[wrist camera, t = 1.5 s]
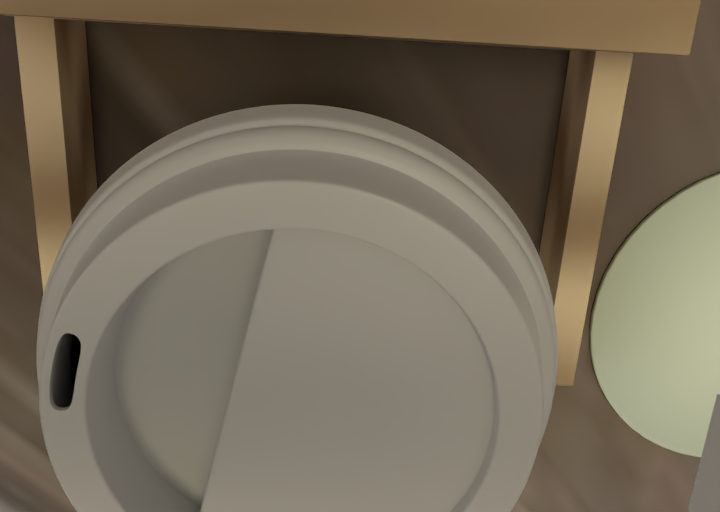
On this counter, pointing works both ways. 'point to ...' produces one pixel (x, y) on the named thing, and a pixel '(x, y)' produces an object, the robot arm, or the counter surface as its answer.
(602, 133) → the shelf bay
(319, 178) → the coffee cup
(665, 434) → the coaster
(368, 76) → the counter surface
